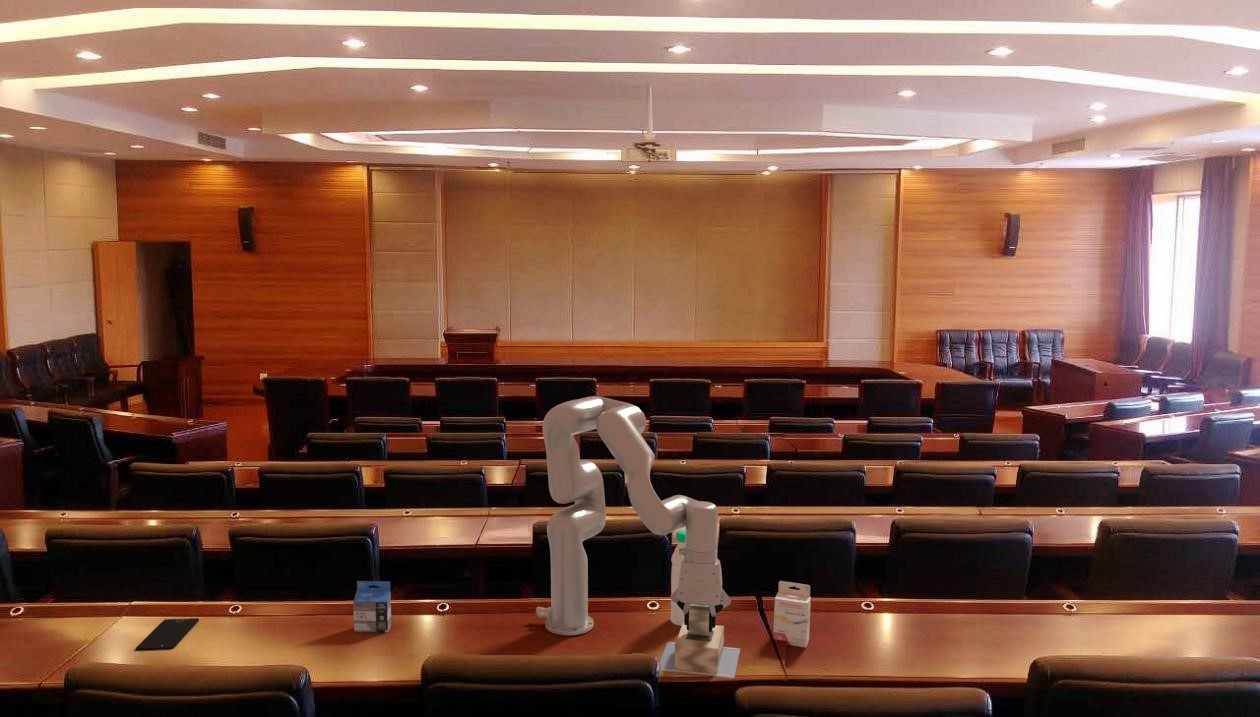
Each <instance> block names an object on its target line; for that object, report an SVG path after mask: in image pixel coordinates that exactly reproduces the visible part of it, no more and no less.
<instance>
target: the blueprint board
mask: <svg viewBox="0 0 1260 717" xmlns="http://www.w3.org/2000/svg"><path fill="white" fill-rule="evenodd" d="M675 643H676V641H674V642H673V641H667V643H666V645H665V648H664V651H663V654H662V655H661V658H660V661H659V663H660V664H661V671H660V672H668V673H674V674H675V673H677V674H684V675H685V674H688V675H697V676H705V677H706V676H707V677H716V678H717V677H718V678H728V679H735V676H736V672H737V667H738V663H739V657H740V654H741V648H738V647H728V646H724V647H723V653H722V657H721V661H720V666H719V670H718V673H708V672H697V671H687V670H677V669H675Z"/></svg>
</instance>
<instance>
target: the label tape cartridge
mask: <svg viewBox="0 0 1260 717" xmlns="http://www.w3.org/2000/svg"><path fill="white" fill-rule="evenodd" d="M356 586H357V587H356V592H355V595H354V599H353V602H352V603H353V604H352V605H353V631H354V633H389V632H390V630H391V628H392V605H391V604H392V603H391V601H392V600H391V598H392V596H391V593H392V592H391V581H379V580H378V581H376V580H357V581H356ZM370 586H371V587H370ZM372 586H376V587H372Z"/></svg>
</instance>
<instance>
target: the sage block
mask: <svg viewBox="0 0 1260 717" xmlns="http://www.w3.org/2000/svg"><path fill="white" fill-rule="evenodd" d="M709 615H710V607H709V605H699V604H691V606H690V609H689V634H696V635H707V636H708V635H709Z"/></svg>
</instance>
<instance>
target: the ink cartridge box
mask: <svg viewBox="0 0 1260 717" xmlns="http://www.w3.org/2000/svg"><path fill="white" fill-rule="evenodd" d="M793 587H795V588H796V589H793ZM811 600H812V597H811V585H809V584H803V583H797V582H791V581H783V580H779V581H778V592H777V593H776V595H775V598H774V606H773V607H774V610H773V631H772V632H773V634H772V635H773V636H772V639H773V640H778V641H785V642H786V645H787V646H792V647H793V646H794V647H800V648H807V647H808V644H809V641H810V627H811V624H810V622H811Z"/></svg>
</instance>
